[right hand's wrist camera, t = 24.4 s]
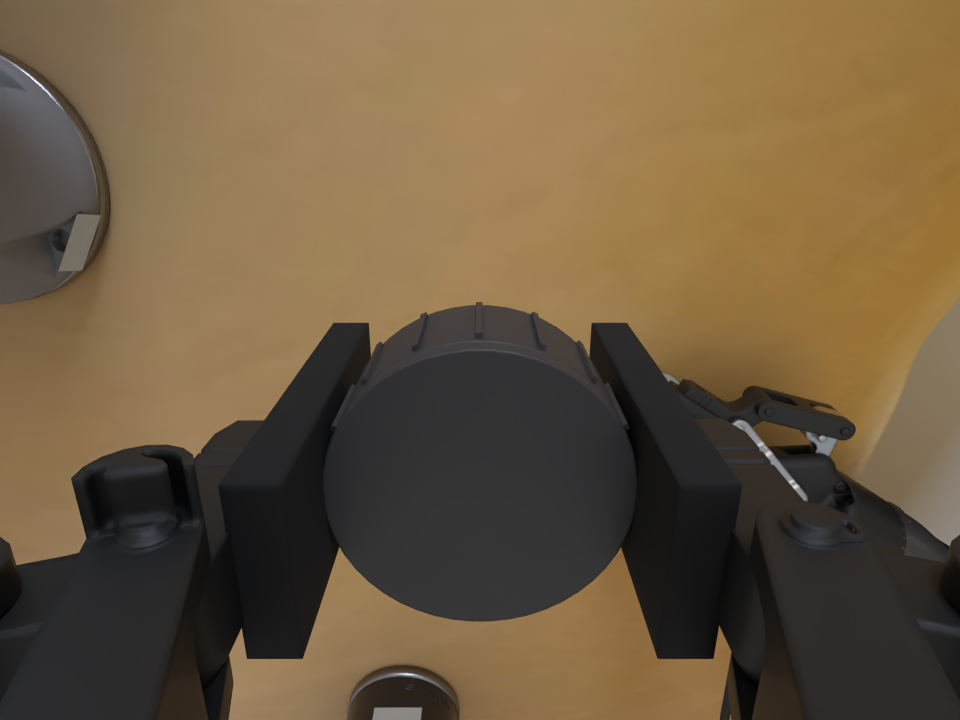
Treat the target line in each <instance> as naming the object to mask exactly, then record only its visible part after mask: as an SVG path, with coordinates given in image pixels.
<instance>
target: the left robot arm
mask: <svg viewBox="0 0 960 720" xmlns="http://www.w3.org/2000/svg"><path fill="white" fill-rule="evenodd" d="M669 383H670V385H671V386H672V387H673V389H674V390H675V392H676V393H677V394H678V396H679V397H680V399H681V400H682V401H683V403H684V404H685V406H686V407H687V408H688V410H689V411H690V413H691V414H692V415H693V416H694V417H696V418H723V419H725V420H726V421H728V422H730V423H732V424H733V425H735V426H737V427H738V428H740V429H742V430H744V431H745V432H747V434H748V435H749V436H750V437H751V438H752V440H753V441H754V442H755V443H756V444H757V445H758V447H759V448H760V451H763V453H764V454H765V455H766V456H767V457H768V458H769V460H770V461H771V465H774V466H775V467H776V468H777V469H778V470H779V471H780V473H781V474H782V475H783V476H784V477H785V479H786V480H787V481H788V482H789V483H790V485H791V486H792V487H793V488H794V489H795V490H796V492H797V493H798V494H799V495H800V496H801V498H802V499H803V500H804V501H808V502H812V503H817V504H822V505H825V506H828V507H830V508H833V509H835V510H838V511H840V512H843V513H845V514H847V515H848V516H850V517H851V518H853V519H854V520H856V521H857V522H859V523H860V524H862V525H863V526H864V527H865V528H866V529H867V531H868V532H869V533H870V534H871V535H872V536H873V538H874V540H875V541H876V543H877V545H878V547H879V549H880V550H884V551H888V552H892V553H897V554H902V555H908V556H913V557H918V558H923V559H929V560H934V561H939V562H944V563H945V561H946V558H947V554H948V551H949V548H950V547H949V546H948V545H946V544H945V543H943V542H942V541H940V540H938V539H937V538H936V537H935V536H933V535H932V534H931V533H930V532H929V531H928V530H927V529H926V528H925V527H923V526H922V525H921V524H920V523H918V522H917V521H916V520H914V519H913V518H911V517H910V516H908V515H907V514H905V513H904V511H902V510H901V508H899V507H898V506H896V505H894V504H893V503H891V502H887V501H885V500H883V499H882V498H880V497H879V496H877V495H876V494H874V493H873V492H871V491H870V490H868V489H866V488H865V487H863V486H862V485H860V484H859V483H857V482H856V481H854V480H852V479H851V478H849V477H848V476H846V475H845V474H843V473H842V472H840V471H838V470H837V469H836V467H835V464H834V462H833V460H832V459H831V458H830V455H831V453H832V451H833V449H834V447H835V446H836V444H837V442H838V440H847V439H850V438H851V437H852V436H853V435H854V433H855V430H856V429H855V426H854V424H853V423H851V422H850V421H849V420H848V419H846V418H845V417H844V416H843V415H842V414H840V413H839V412H838V411H837V410H836V409H834V408H833V407H832V406H830V405H828V404H824V403H820V402H816V401H812V400H808V399H804V398H801V397H797V396H793V395H789V394H785V393H781V392H777V391H773V390H770V389H766V388H762V387H758V386H750V387H748V388H746V389H745V390H744V392H743V395H742V397H740V398H739V399H737V400H735V401H732V402H725V401H723V400H721V399H719V398H718V397H716V396H715V395H713V394H712V393H710V392H709V391H707V390H706V389H704V388H702V387H701V386H699V385H698V384H696V383H695V382H693V381H691V380H685V379H683V380H682V381H681V382H680V384H679V385H678V384H677V383H675V382H673V381H671V380H670V381H669ZM762 420H763V421H767V422H771V423H775V424H778V425H782V426H786V427H790V428H794V429H798V430H800V432H801V433H802V434H803V435H804V436H805V437H806V438H807V439H808V440H809V441H810V444H809V445H793V446H773V447H767V446H766V445H765V443H764V442H763V441H762V440H761V439H760V437H759V436H758V435H757V434H756V432H755V431H754V430H753V429H752V427H753V426H754V425H756V424H758V423H759V422H761V421H762ZM347 716H348V717H347V720H459V702H458V699H457V696H456V694H455V692H454V691H453V689H452V688H451V687H450V685H449V684H448V683H446V682H445V681H444V680H443V679H442V678H440V677H438V676H437V675H435V674H433V673H431V672H428V671H426V670H423V669H419V668H413V667H391V668H386V669H382V670H379V671H376V672H374V673H372V674H370V675H369V676H367V677H365V678H364V679H363V680H362V681H361V682H360V683H359V684H358V685H357V686H356V687H355V689H354V691H353V693H352V695H351V698H350V702H349V707H348V714H347Z"/></svg>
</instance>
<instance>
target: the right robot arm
mask: <svg viewBox="0 0 960 720" xmlns="http://www.w3.org/2000/svg"><path fill="white" fill-rule="evenodd" d="M108 217H109V188H108V181H107V176H106V171H105V168H104V164H103V161H102V158H101V155H100V152H99V150H98V147H97V145H96V143H95V141H94V139H93V137H92V135H91V133H90V131H89V129H88V128H87V126H86V124H85V122H84V121H83V120H82V118H81V117H80V115H79V114H78V112H77V111H76V110H75V108H74V107H73V106H72V105H71V103H70V102H69V101H68V100H67V98H66V97H65V96H64V95H63V94H62V93H61V92H60V91H59V90H58V89H57V88H56V87H55V86H54V85H53V84H52V83H50V82H49V81H48V80H47V79H46V78H45V77H43V76H42V75H41V74H40V73H38V72H37V71H36V70H34V69H33V68H31V67H30V66H28V65H27V64H25V63H24V62H22V61H20V60H18V59H17V58H15V57H13V56H11V55H9V54H7V53H5V52H2V51H0V304H7V303H14V302H19V301H25V300H29V299H33V298H36V297H39V296H41V295H44V294H46V293H49V292H51V291H54V290H56V289H58V288H61V287H62V286H64V285H66V284H68V283H69V282H71V281H72V280H73V279H75V278H76V277H77V276H79V275H80V274H81V273H82V272H83V271H84V270H85V269H86V268H87V266H88V265H89V264H90V263H91V262H92V260H93V258H94V257H95V255H96V254H97V252H98V250H99V248H100V246H101V244H102V241H103V238H104V235H105V233H106V228H107V224H108ZM370 358H371V352H370V336H369V323H333V325H332V326H331V327H330V329H329V330H328V332H327V333H326V334H325V336H324V337H323V339H322V340H321V342H320V343H319V344H318V346H317V347H316V349H315V350H314V351H313V353H312V354H311V356H310V357H309V358H308V360H307V361H306V363H305V364H304V365H303V367H302V368H301V370H300V371H299V372H298V374H297V375H296V377H295V378H294V379H293V381H292V382H291V384H290V385H289V387H288V388H287V389H286V391H285V392H284V394H283V395H282V396H281V398H280V399H279V401H278V402H277V403H276V405H275V406H274V408H273V409H272V410H271V412H270V413H269V415H268V416H267V417H266V419H265V420H264V421H236V422H235V423H233V424H231V425H229V426H228V427H226V428H224V429H223V430H221V431H219V432H218V433H216V434H214V436H213V437H212V438H211V439H210V440H209V442H208V443H207V444H206V445H205V446H204V448H203V449H202V450H201V453H198V455H197V456H196V457H195V458H193V455H192V454H191V453H190V452H188V451H187V450H185V449H184V448H181V447H176V446H171V445H145V446H140V447H134V448H129V449H124V450H121V451H118V452H115V453H112V454H109V455H106V456H103V457H101V458H99V459H97V460H95V461H93V462H91V463H90V464H88V465H86V466H84V467H83V468H81V469H80V470H79V471H78V472H77V473H76V474H75V475H74V476H73V477H72V478H71V480H72V484H73V488H74V492H75V495H76V499H77V503H78V507H79V511H80V515H81V519H82V522H83V526H84V530H85V534H86V538H87V539H86V541H85V543H84V544H83V546H82V548H81V550H80V552H79V553H76V554H72V555H68V556H63V557H58V558H53V559H47V560H42V561H37V562H32V563H26V564H21V565H16V562H15V559H14V556H13V553H12V549H11V546H10V544H9V543H8V542H6V541H5V540H4V539H2V538H1V537H0V720H229V712H230V705H231V697H232V690H233V677H232V669H231V664H230V658H229V653H230V651H231V649H232V647H233V645H234V643H235V640H236V638H237V636H238V634H239V632H240V630H241V628H242V631H243V637H244V643H245V649H246V655H247V659H303V656H304V653H305V650H306V647H307V644H308V641H309V638H310V635H311V632H312V629H313V626H314V623H315V620H316V617H317V614H318V610H319V607H320V604H321V601H322V598H323V595H324V592H325V589H326V586H327V583H328V580H329V577H330V574H331V571H332V568H333V565H334V562H335V559H336V555H337V552H338V549H339V545H338V543H337V542H336V540H335V537H334V535H333V533H332V530H331V528H330V526H329V523H328V519H327V515H326V507H325V497H324V487H323V466H324V461H325V456H326V452H327V449H328V446H329V443H330V441H331V438H332V435H333V433H334V432H332V431H330V429H331V426H332V424H333V422H334V420H335V417H336V415H337V413H338V411H339V409H340V407H341V405H342V403H343V401H344V399H345V397H346V395H347V393H348V391H349V389H350V387H351V385H352V384H353V385H356V384H357V382H358V380H359V378H360V376H361V374H362V372H363V370H364V368H365V367H366V365H367V363H368V362H369V360H370ZM590 360H591V361H592V362H593V364H594V366H595V367H596V369H597V371H598V373H599V374H600V376H601V378H602V380H603V383H604V384H606V383H609V385H610V387H611V389H612V391H613V393H614V396H615V398H616V400H617V402H618V404H619V406H620V408H621V410H622V412H623V414H624V417H625V419H626V421H627V423H628V425H629V428H630V429H628V430H626V433H627V436H628V438H629V441H630V443H631V446H632V449H633V452H634V456H635V461H636V465H637V474H638V482H637V493H636V503H635V512H634V517H633V521H632V524H631V526H630V529H629V531H628V534H627V536H626V539H625V540H624V542H623V544H622V546H621V548H622V551H623V554H624V557H625V560H626V563H627V566H628V569H629V573H630V576H631V579H632V582H633V585H634V588H635V591H636V594H637V597H638V600H639V603H640V606H641V609H642V612H643V615H644V618H645V621H646V624H647V628H648V631H649V634H650V637H651V640H652V643H653V646H654V649H655V652H656V655H657V658H658V659H713V658H714V652H715V646H716V640H717V634H718V628H719V626H720V628H721V630H722V632H723V634H724V636H725V638H726V640H727V643H728V645H729V647H730V649H731V651H732V653H731V658H730V664H729V669H728V675H727V680H726V686H725V692H724V697H723V703H722V708H721V714H720V720H729V719H730V714H731V718H732V720H960V535H959V536H958V537H957V538H955V539H954V540H952V542H951V545H950V548H949V551H948V554H947V558H946V561H945V563H944V562H939V561H934V560H929V559H923V558H918V557H913V556H908V555H902V554H897V553H892V552H888V551H884V550H880V549H879V547H878V545H877V543H876V541H875V540H874V538H873V536H872V535H871V534H870V533H869V532H868V531H867V529H866V528H865V527H864V526H863V525H862V524H860V523H859V522H857V521H856V520H854V519H853V518H851V517H850V516H848V515H847V514H845V513H843V512H840V511H838V510H835V509H833V508H830V507H828V506H825V505H822V504H817V503H812V502H808V501H804V500H803V499H802V498H801V496H800V495H799V494H798V493H797V492H796V490H795V489H794V488H793V487H792V486H791V485H790V483H789V482H788V481H787V480H786V479H785V477H784V476H783V475H782V474H781V473H780V471H779V470H778V469H777V468H776V467H775V466H774V465H771V461H770V460H769V458H768V457H767V456H766V455H765V454H764V453H763V451H760V448H759V447H758V445H757V444H756V443H755V442H754V441H753V440H752V438H751V437H750V436H749V435H748V434H747V432H745V431H744V430H742V429H740V428H738V427H737V426H735V425H733V424H732V423H730V422H728V421H726V420H725V419H723V418H694V417H693V415H692V414H691V413H690V411H689V410H688V408H687V407H686V406H685V404H684V403H683V401H682V400H681V399H680V397H679V396H678V394H677V393H676V392H675V390H674V389H673V387H672V386H671V385H670V383H669V382H668V380H667V379H666V377H665V376H664V375H663V373H662V372H661V370H660V369H659V368H658V366H657V365H656V363H655V362H654V361H653V359H652V358H651V356H650V355H649V354H648V352H647V351H646V349H645V348H644V347H643V345H642V344H641V342H640V341H639V340H638V338H637V337H636V335H635V334H634V332H633V331H632V330H631V328H630V327H629V325H628V324H627V323H592V327H591V343H590Z"/></svg>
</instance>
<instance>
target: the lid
mask: <svg viewBox="0 0 960 720" xmlns="http://www.w3.org/2000/svg"><path fill="white" fill-rule="evenodd" d="M628 429H630V428H629V425H628V423H627V421H626V419H625V417H624V414H623V412H622V410H621V408H620V406H619V404H618V402H617V400H616V398H615V396H614V393H613V391H612V389H611V387H610V385H609V383H606V384H604V383H603V380H602V378H601V376H600V374H599V373H598V371H597V369H596V367H595V366H594V364H593V362H592V361H591V360H590V358H589V357H588V355H587V352H586V350H585V348H584V346H583V344H582V343H581V342H580V341H578V342H577V343H576V342H575V341H574V340H573V339H572V338H570V337H569V336H568V335H566V334H565V333H564V332H562V331H561V330H560V329H558V328H557V327H555V326H554V325H552V324H550V323H548V322H546V321H545V320H543V319H541V318H539V316H538V314H537V313H535V312H532V313H531V314H528V313H526V312H522V311H518V310H515V309H511V308H506V307H498V306H490V305H482V302H476V305H470V306H462V307H455V308H450V309H446V310H442V311H438V312H435V313H432V314H430V315H427V313H423V314H421V316H420V319H418V320H416V321H414V322H412V323H411V324H409V325H407V326H405V327H404V328H402V329H401V330H399V331H398V332H397V333H395V334H394V335H393V336H392V337H390V338H389V339H388V340H387V341H386V342H385V343H384V344H382V343H381V342H379V343H378V344H377V345H376V347H375V350H374V352H373V354H372V356H371V358H370V360H369V362H368V363H367V365H366V367H365V368H364V370H363V372H362V374H361V376H360V378H359V380H358V382H357V384H356V385H353V384H352V385H351V387H350V389H349V391H348V393H347V395H346V397H345V399H344V401H343V403H342V405H341V407H340V409H339V411H338V413H337V415H336V417H335V420H334V422H333V424H332V426H331V429H330V431H332V432H334V433H333V435H332V438H331V441H330V443H329V446H328V449H327V452H326V456H325V461H324V466H323V487H324V497H325V507H326V515H327V519H328V523H329V526H330V528H331V530H332V533H333V535H334V537H335V540H336V542H337V543H338V545H339V547H340V548H341V550H342V552H343V553H344V555H345V556H346V558H347V559H348V560H349V561H350V563H351V564H352V565H353V566H354V568H355V569H356V570H357V571H358V572H359V573H360V574H361V575H362V576H363V577H364V578H365V579H366V580H367V581H369V582H370V583H371V584H372V585H374V586H375V587H376V588H378V589H379V590H380V591H382V592H383V593H384V594H386V595H388V596H390V597H391V598H393V599H395V600H396V601H398V602H400V603H402V604H404V605H407V606H409V607H411V608H413V609H416V610H418V611H421V612H424V613H428V614H431V615H434V616H438V617H443V618H448V619H453V620H463V621H498V620H507V619H513V618H517V617H522V616H527V615H530V614H533V613H536V612H539V611H542V610H545V609H548V608H550V607H552V606H554V605H556V604H558V603H561V602H563V601H564V600H566V599H568V598H569V597H571V596H573V595H574V594H576V593H578V592H579V591H580V590H582V589H583V588H584V587H586V586H587V585H588V584H589V583H591V582H592V581H593V580H594V579H595V578H596V577H597V576H598V575H599V574H600V573H601V572H602V571H603V570H604V569H605V568H606V567H607V566H608V564H609V563H610V562H611V561H612V559H613V558H614V557H615V555H616V554H617V552H618V551H619V549H620V547H621V546H622V544H623V542H624V540H625V539H626V536H627V534H628V531H629V529H630V526H631V524H632V521H633V517H634V512H635V503H636V493H637V482H638V474H637V465H636V461H635V456H634V452H633V449H632V446H631V443H630V441H629V438H628V436H627V433H626V430H628Z"/></svg>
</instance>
